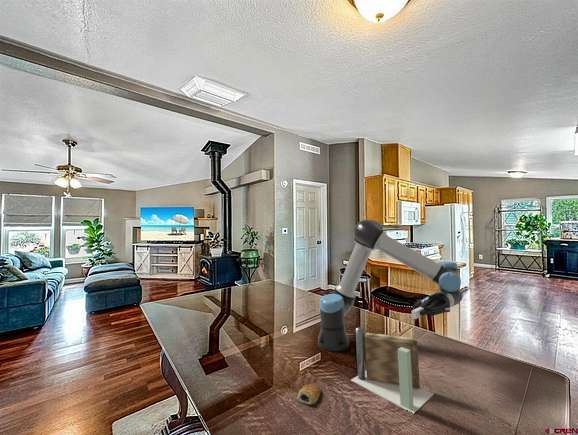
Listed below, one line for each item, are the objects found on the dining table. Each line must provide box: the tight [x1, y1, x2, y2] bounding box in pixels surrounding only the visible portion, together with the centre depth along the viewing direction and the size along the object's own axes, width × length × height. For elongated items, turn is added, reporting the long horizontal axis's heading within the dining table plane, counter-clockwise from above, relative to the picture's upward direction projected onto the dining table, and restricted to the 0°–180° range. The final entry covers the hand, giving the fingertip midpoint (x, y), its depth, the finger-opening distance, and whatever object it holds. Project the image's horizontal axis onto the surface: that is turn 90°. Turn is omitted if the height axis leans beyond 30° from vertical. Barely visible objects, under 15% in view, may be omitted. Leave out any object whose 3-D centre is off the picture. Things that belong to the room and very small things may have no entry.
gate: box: [364, 332, 421, 389], centre depth 97 cm, size 18×2×17 cm, turn 67°
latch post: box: [398, 347, 413, 410], centre depth 85 cm, size 3×2×18 cm
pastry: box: [296, 382, 321, 406], centre depth 92 cm, size 9×7×4 cm
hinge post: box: [355, 326, 366, 380], centre depth 101 cm, size 3×3×19 cm
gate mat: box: [350, 370, 435, 415], centre depth 95 cm, size 24×14×1 cm, turn 39°
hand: (413, 315), depth 98 cm, fingers closed
